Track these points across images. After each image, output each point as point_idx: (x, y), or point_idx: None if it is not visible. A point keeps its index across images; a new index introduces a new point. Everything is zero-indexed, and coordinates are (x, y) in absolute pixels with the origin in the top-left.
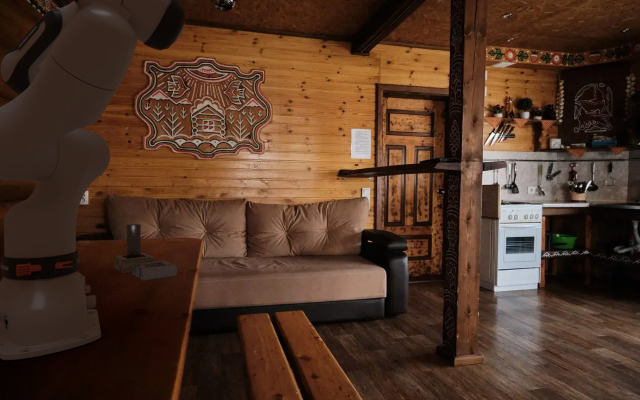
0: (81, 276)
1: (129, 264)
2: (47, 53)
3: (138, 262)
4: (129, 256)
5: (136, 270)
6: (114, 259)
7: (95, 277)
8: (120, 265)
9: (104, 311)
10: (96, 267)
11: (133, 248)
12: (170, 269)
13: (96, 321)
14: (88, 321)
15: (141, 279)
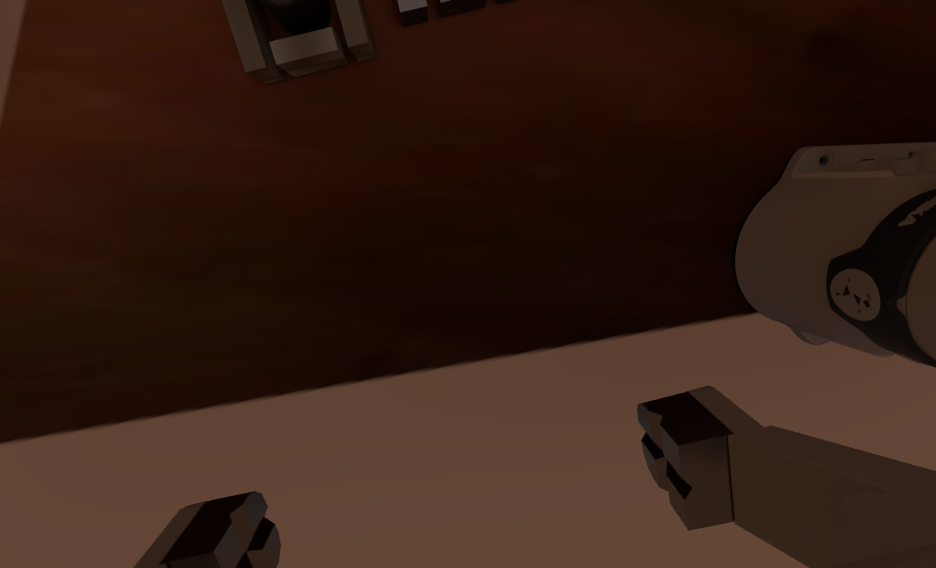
0: (922, 179)
1: (364, 21)
2: None
3: None
4: (310, 7)
5: (453, 5)
6: (259, 73)
7: (393, 150)
8: (342, 57)
9: (780, 131)
10: (217, 146)
11: None
12: None
13: (892, 148)
14: (883, 164)
15: (504, 1)
